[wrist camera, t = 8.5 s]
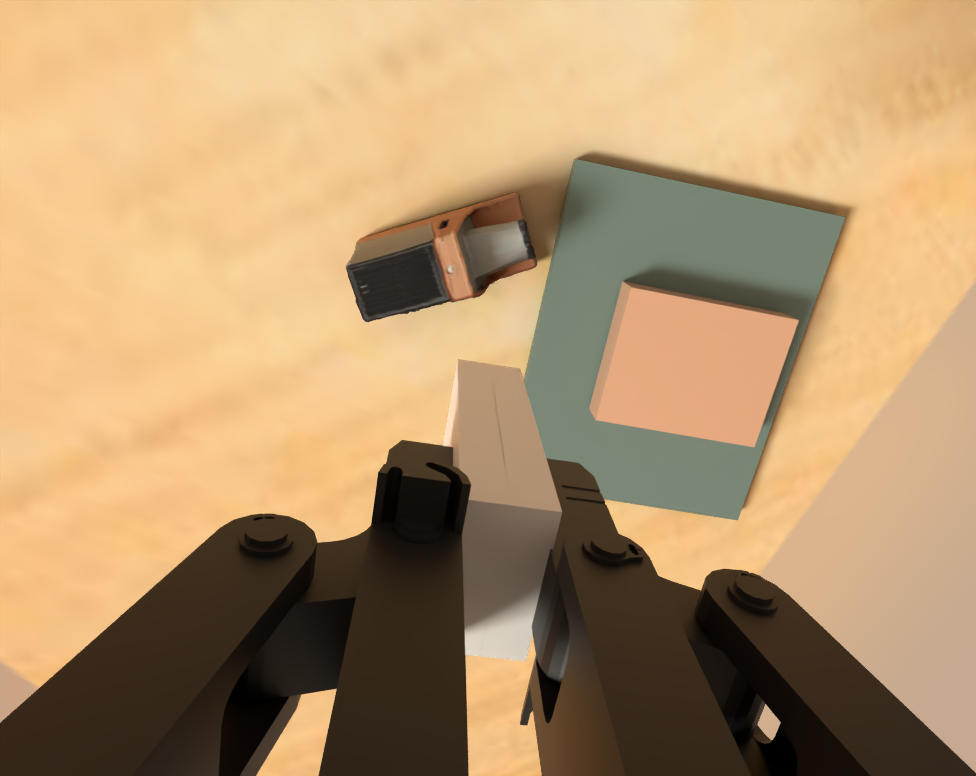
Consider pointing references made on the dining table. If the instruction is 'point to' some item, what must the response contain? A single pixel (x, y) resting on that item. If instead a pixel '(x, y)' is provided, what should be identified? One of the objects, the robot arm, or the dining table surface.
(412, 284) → the electronic device
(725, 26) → the dining table surface
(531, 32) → the dining table surface
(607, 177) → the mat
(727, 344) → the tile
